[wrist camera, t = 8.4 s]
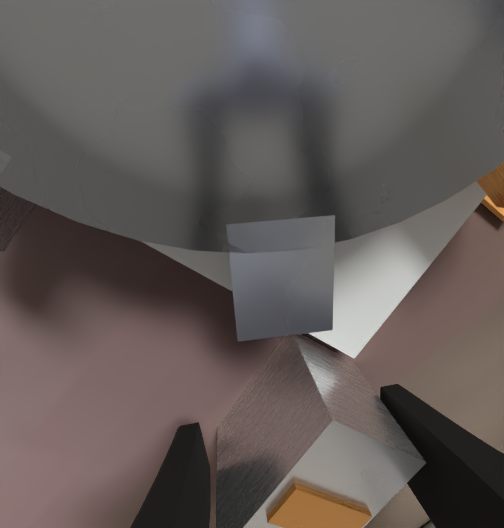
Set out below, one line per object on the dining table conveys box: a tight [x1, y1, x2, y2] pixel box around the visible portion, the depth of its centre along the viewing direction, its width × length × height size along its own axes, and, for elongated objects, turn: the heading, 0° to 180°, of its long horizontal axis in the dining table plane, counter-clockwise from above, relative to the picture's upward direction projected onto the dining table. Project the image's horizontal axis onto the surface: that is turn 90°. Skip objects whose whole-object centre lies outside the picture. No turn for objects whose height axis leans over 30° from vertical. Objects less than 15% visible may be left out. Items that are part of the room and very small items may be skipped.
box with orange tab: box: [216, 334, 426, 528], centre depth 9 cm, size 3×5×4 cm, turn 147°
